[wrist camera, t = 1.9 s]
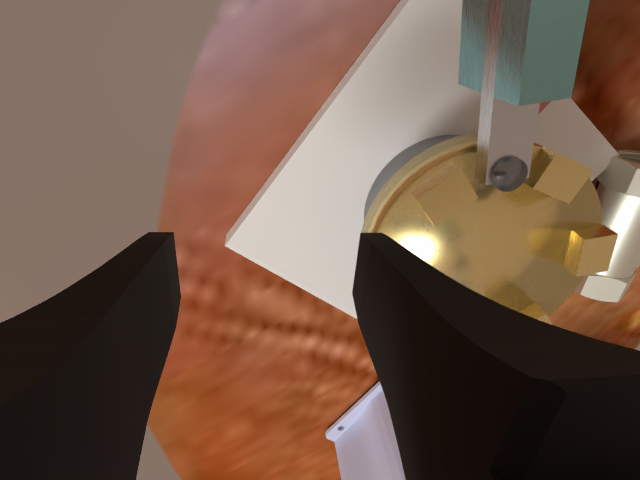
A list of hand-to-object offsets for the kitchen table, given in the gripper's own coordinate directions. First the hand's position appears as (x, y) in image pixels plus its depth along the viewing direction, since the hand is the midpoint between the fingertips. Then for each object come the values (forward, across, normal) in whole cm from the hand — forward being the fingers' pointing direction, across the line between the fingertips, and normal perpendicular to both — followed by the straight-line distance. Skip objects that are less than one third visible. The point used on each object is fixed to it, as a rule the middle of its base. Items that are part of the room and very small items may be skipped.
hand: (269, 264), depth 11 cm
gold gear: (+6, -8, -1) cm, 10 cm away
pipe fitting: (+11, -22, +3) cm, 24 cm away
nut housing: (+10, -9, +2) cm, 14 cm away
